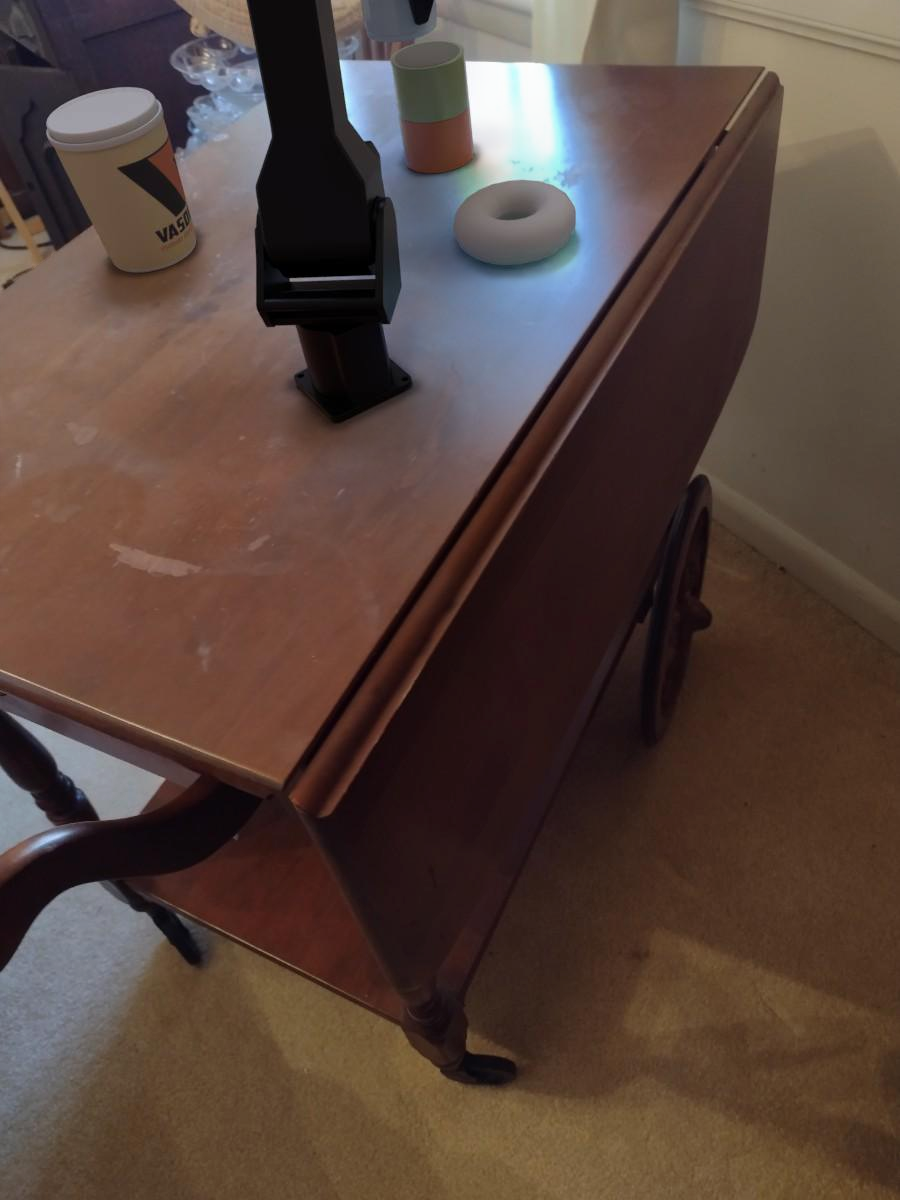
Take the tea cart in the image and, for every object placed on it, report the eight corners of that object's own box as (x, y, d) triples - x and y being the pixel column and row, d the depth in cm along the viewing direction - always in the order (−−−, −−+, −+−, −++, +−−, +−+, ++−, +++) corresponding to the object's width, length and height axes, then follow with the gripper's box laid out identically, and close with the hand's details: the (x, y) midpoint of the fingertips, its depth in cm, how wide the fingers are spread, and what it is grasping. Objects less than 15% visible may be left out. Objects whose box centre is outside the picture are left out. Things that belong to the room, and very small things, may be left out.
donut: (539, 285, 71) (597, 221, 76) (537, 244, 68) (597, 181, 73) (433, 261, 75) (494, 202, 80) (427, 221, 73) (490, 163, 77)
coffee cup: (182, 278, 78) (128, 133, 69) (85, 278, 80) (20, 137, 71) (221, 223, 84) (176, 82, 75) (129, 224, 86) (75, 87, 77)
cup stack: (487, 156, 86) (478, 51, 79) (429, 180, 84) (414, 75, 78) (449, 135, 90) (438, 34, 83) (392, 158, 88) (376, 56, 82)
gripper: (210, -219, 67) (267, 18, 79) (329, -194, 56) (375, 77, 68) (340, -254, 70) (376, -20, 82) (477, -237, 59) (496, 30, 71)
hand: (401, 14), depth 76 cm, fingers closed on blue cup, 6 cm apart
